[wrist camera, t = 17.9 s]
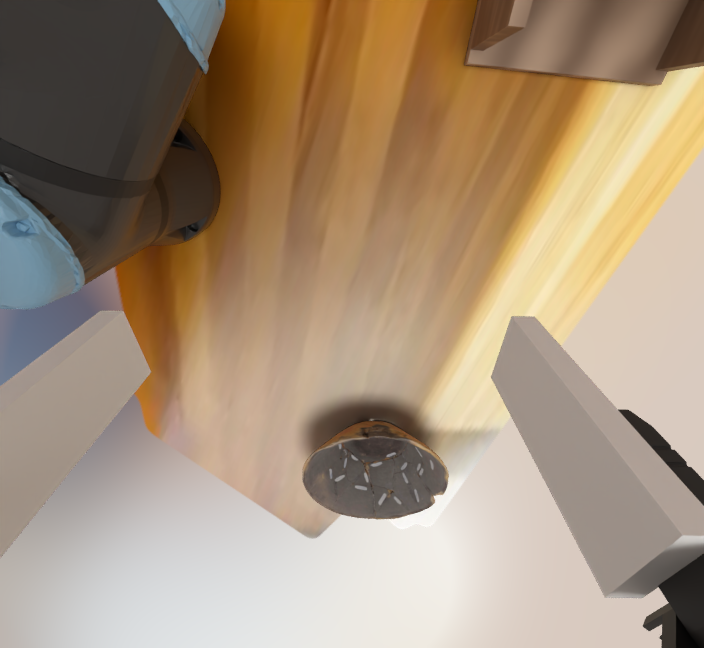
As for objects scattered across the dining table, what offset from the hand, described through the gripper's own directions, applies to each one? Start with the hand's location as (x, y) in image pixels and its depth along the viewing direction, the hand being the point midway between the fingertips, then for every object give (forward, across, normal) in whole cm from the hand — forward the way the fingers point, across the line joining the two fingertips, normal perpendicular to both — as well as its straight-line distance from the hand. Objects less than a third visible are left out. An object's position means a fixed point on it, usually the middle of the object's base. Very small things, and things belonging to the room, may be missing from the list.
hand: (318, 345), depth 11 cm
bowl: (+31, -5, +45) cm, 55 cm away
